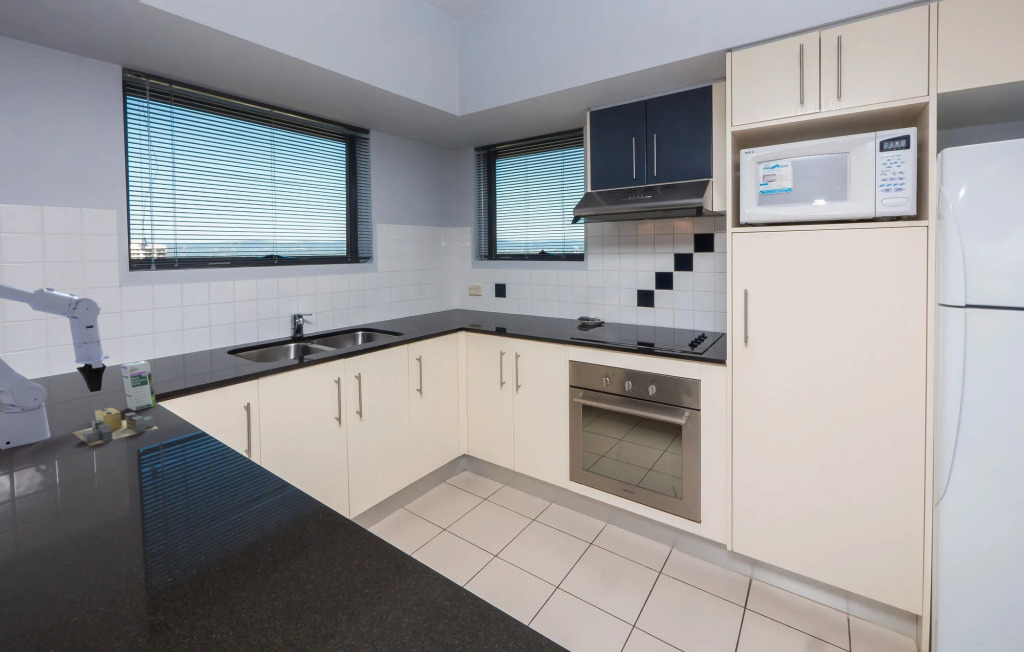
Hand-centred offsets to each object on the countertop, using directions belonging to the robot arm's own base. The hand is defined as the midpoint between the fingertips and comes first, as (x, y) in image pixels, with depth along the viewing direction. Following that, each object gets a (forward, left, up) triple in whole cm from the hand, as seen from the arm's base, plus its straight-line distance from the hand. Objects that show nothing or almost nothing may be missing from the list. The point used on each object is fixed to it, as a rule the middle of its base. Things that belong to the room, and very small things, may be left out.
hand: (95, 391), depth 136 cm
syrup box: (+12, +7, -10) cm, 17 cm away
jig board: (0, -14, -9) cm, 17 cm away
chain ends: (0, -19, -9) cm, 20 cm away
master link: (0, -9, -9) cm, 13 cm away
